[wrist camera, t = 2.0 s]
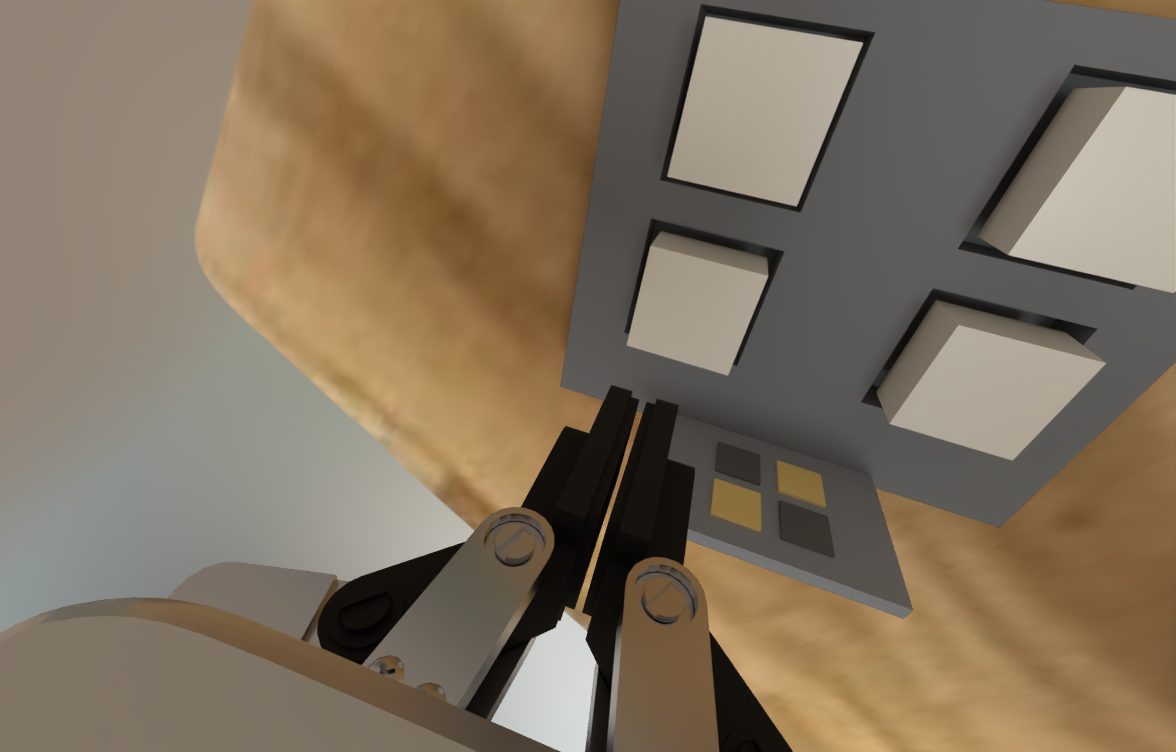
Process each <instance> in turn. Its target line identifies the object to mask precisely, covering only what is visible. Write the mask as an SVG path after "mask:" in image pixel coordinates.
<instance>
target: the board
mask: <svg viewBox="0 0 1176 752" xmlns="http://www.w3.org/2000/svg"><path fill="white" fill-rule="evenodd" d="M706 17H712V18H718V19H724V20H730V21H736V22H742V23H748V24H754V25H760V26H766V27H772V28H778V29H784V30H790V31H796V32H802V33H808V34H814V35H820V36H826V37H832V38H838V39H844V40H850V41H856V42H862V43H863V45H862V47H861V50H860V52H859V55H858V57H857V59H856V62H855V64H854V67H853V69H852V72H851V74H850V77H849V79H848V82H847V84H846V86H845V89H844V91H843V94H842V96H841V99H840V101H839V104H838V106H837V109H836V111H835V114H834V116H833V118H832V121H831V123H830V126H829V128H828V131H827V133H826V136H825V138H824V141H823V143H822V146H821V148H820V150H819V153H818V155H817V158H816V160H815V163H814V165H813V168H812V170H811V173H810V175H809V178H808V180H807V182H806V185H805V187H804V190H803V192H802V195H801V197H800V200H799V202H798V205H797V206H792V205H788V204H784V203H779V202H775V201H771V200H766V199H762V198H758V197H753V196H749V195H745V194H740V193H736V192H732V191H727V190H723V189H718V188H714V187H710V186H705V185H701V184H697V183H692V182H688V181H684V180H679V179H675V178H671V177H667V176H668V171H669V167H670V163H671V159H672V155H673V151H674V147H675V142H676V138H677V134H678V130H679V126H680V122H681V118H682V113H683V109H684V105H685V101H686V97H687V93H688V89H689V84H690V80H691V76H692V72H693V68H694V64H695V60H696V55H697V51H698V47H699V43H700V39H701V35H702V31H703V26H704V22H705V18H706ZM1099 87H1131V88H1137V89H1143V90H1149V91H1155V92H1161V93H1167V94H1173V95H1176V19H1170V18H1163V17H1156V16H1149V15H1142V14H1135V13H1128V12H1121V11H1114V10H1108V9H1101V8H1094V7H1087V6H1080V5H1073V4H1066V3H1059V2H1052V1H1045V0H620V3H619V9H618V16H617V22H616V29H615V35H614V42H613V48H612V55H611V61H610V68H609V74H608V81H607V87H606V94H605V100H604V107H603V113H602V120H601V126H600V132H599V139H598V145H597V152H596V158H595V165H594V171H593V178H592V184H591V191H590V197H589V204H588V210H587V217H586V223H585V230H584V236H583V243H582V249H581V256H580V262H579V269H578V275H577V281H576V288H575V294H574V301H573V307H572V314H571V320H570V327H569V333H568V340H567V346H566V353H565V359H564V366H563V372H562V379H561V385H560V386H561V387H564V388H567V389H570V390H574V391H577V392H580V393H583V394H586V395H589V396H592V397H595V398H598V399H601V400H605V397H606V395H607V393H608V391H609V389H610V387H611V385H614V386H617V387H621V388H624V389H627V390H631V391H633V394H632V397H633V398H637V399H640V400H639V404H638V407H637V411H639V412H642V413H643V411H644V408H645V405H646V402H650V403H653V404H655V403H656V399H660V400H664V401H667V402H670V403H674V404H677V405H679V407H678V412H677V414H678V415H682V416H685V417H688V418H691V419H694V420H697V421H700V422H704V423H707V424H710V425H713V426H716V427H719V428H722V429H726V430H729V431H732V432H735V433H738V434H741V435H744V436H748V437H751V438H754V439H757V440H760V441H763V442H766V443H769V444H773V445H776V446H779V447H782V448H785V449H788V450H791V451H795V452H798V453H801V454H804V455H807V456H810V457H813V458H817V459H820V460H823V461H826V462H829V463H832V464H835V465H839V466H842V467H845V468H848V469H851V470H854V471H857V472H861V473H864V474H867V475H870V476H872V479H873V482H874V485H875V488H878V489H881V490H884V491H887V492H890V493H893V494H896V495H899V496H903V497H906V498H909V499H912V500H915V501H918V502H921V503H924V504H927V505H931V506H934V507H937V508H940V509H943V510H946V511H949V512H952V513H955V514H958V515H962V516H965V517H968V518H971V519H974V520H977V521H980V522H983V523H986V524H990V525H993V526H996V527H999V528H1000V527H1001V526H1002V525H1003V524H1004V523H1005V522H1006V521H1007V520H1008V519H1009V518H1010V517H1011V516H1012V515H1014V514H1015V513H1016V512H1017V511H1018V510H1019V509H1020V508H1021V507H1022V506H1023V505H1024V504H1025V503H1026V502H1027V501H1028V500H1030V499H1031V498H1032V497H1033V496H1034V495H1035V494H1036V493H1037V492H1038V491H1039V490H1040V489H1041V488H1042V487H1043V486H1044V485H1046V484H1047V483H1048V482H1049V481H1050V480H1051V479H1052V478H1053V477H1054V476H1055V475H1056V474H1057V473H1058V472H1059V471H1060V470H1061V469H1063V468H1064V467H1065V466H1066V465H1067V464H1068V463H1069V462H1070V461H1071V460H1072V459H1073V458H1074V457H1075V456H1076V455H1077V454H1079V453H1080V452H1081V451H1082V450H1083V449H1084V448H1085V447H1086V446H1087V445H1088V444H1089V443H1090V442H1091V441H1092V440H1093V439H1094V438H1096V437H1097V436H1098V435H1099V434H1100V433H1101V432H1102V431H1103V430H1104V429H1105V428H1106V427H1107V426H1108V425H1109V424H1110V423H1112V422H1113V421H1114V420H1115V419H1116V418H1117V417H1118V416H1119V415H1120V414H1121V413H1122V412H1123V411H1124V410H1125V409H1126V408H1128V407H1129V406H1130V405H1131V404H1132V403H1133V402H1134V401H1135V400H1136V399H1137V398H1138V397H1139V396H1140V395H1141V394H1142V393H1143V392H1145V391H1146V390H1147V389H1148V388H1149V387H1150V386H1151V385H1152V384H1153V383H1154V382H1155V381H1156V380H1157V379H1158V378H1159V377H1161V376H1162V375H1163V374H1164V373H1165V372H1166V371H1167V370H1168V369H1169V368H1170V367H1171V366H1172V365H1173V364H1174V363H1175V362H1176V291H1175V293H1171V292H1166V291H1162V290H1158V289H1153V288H1149V287H1145V286H1140V285H1136V284H1132V283H1127V282H1123V281H1118V280H1114V279H1110V278H1105V277H1101V276H1097V275H1092V274H1088V273H1084V272H1079V271H1075V270H1071V269H1066V268H1062V267H1058V266H1053V265H1049V264H1045V263H1040V262H1036V261H1032V260H1027V259H1023V258H1018V257H1014V256H1010V255H1007V254H1005V253H1004V252H1002V251H1000V250H999V249H997V248H996V247H994V246H992V245H991V244H989V243H988V242H986V241H984V240H983V239H981V238H979V237H978V234H979V232H980V231H981V229H982V228H983V226H984V225H985V223H986V222H987V220H988V219H989V217H990V215H991V214H992V212H993V211H994V209H995V208H996V206H997V205H998V203H999V202H1000V200H1001V198H1002V197H1003V195H1004V194H1005V192H1006V191H1007V189H1008V188H1009V186H1010V185H1011V183H1012V181H1013V180H1014V178H1015V177H1016V175H1017V174H1018V172H1019V171H1020V169H1021V168H1022V166H1023V165H1024V163H1025V161H1026V160H1027V158H1028V157H1029V155H1030V154H1031V152H1032V151H1033V149H1034V148H1035V146H1036V144H1037V143H1038V141H1039V140H1040V138H1041V137H1042V135H1043V134H1044V132H1045V131H1046V129H1047V127H1048V126H1049V124H1050V123H1051V121H1052V120H1053V118H1054V117H1055V115H1056V114H1057V112H1058V110H1059V109H1060V107H1061V106H1062V104H1063V103H1064V101H1065V100H1066V98H1067V97H1068V95H1069V93H1070V92H1071V90H1072V89H1073V88H1099ZM661 231H664V232H668V233H672V234H676V235H680V236H684V237H688V238H692V239H696V240H700V241H704V242H708V243H712V244H716V245H720V246H724V247H728V248H732V249H736V250H740V251H743V252H747V253H751V254H755V255H759V256H763V257H767V264H768V278H767V281H766V283H765V286H764V288H763V291H762V293H761V296H760V298H759V301H758V303H757V305H756V308H755V310H754V313H753V315H752V318H751V320H750V323H749V325H748V328H747V330H746V332H745V335H744V337H743V340H742V342H741V345H740V347H739V350H738V352H737V355H736V357H735V360H734V362H733V364H732V367H731V369H730V372H729V374H728V376H727V375H724V374H721V373H717V372H714V371H711V370H707V369H704V368H701V367H697V366H694V365H690V364H687V363H684V362H680V361H677V360H674V359H670V358H667V357H664V356H660V355H657V354H654V353H650V352H647V351H644V350H640V349H637V348H633V347H630V346H627V341H628V337H629V333H630V329H631V325H632V321H633V316H634V312H635V308H636V304H637V300H638V296H639V292H640V287H641V283H642V279H643V275H644V271H645V267H646V263H647V258H648V254H649V250H650V246H651V244H652V243H653V242H654V240H655V239H656V237H657V236H658V234H659V233H660V232H661ZM935 300H939V301H943V302H947V303H951V304H955V305H959V306H963V307H967V308H971V309H975V310H979V311H983V312H987V313H990V314H994V315H998V316H1002V317H1006V318H1010V319H1014V320H1018V321H1022V322H1026V323H1030V324H1034V325H1038V326H1042V327H1046V328H1050V329H1054V330H1058V331H1062V332H1066V333H1067V334H1068V335H1070V336H1071V337H1072V338H1074V339H1075V340H1076V341H1078V342H1079V343H1080V344H1082V345H1083V346H1084V347H1086V348H1087V349H1088V350H1090V351H1091V352H1092V353H1094V354H1095V355H1096V356H1098V357H1099V358H1100V359H1102V360H1103V361H1104V362H1106V364H1105V365H1104V366H1103V367H1102V368H1101V369H1100V370H1099V371H1098V372H1097V373H1096V375H1095V376H1094V377H1093V378H1092V379H1091V380H1090V381H1089V382H1088V383H1087V384H1086V385H1085V386H1084V387H1083V388H1082V389H1081V390H1080V391H1079V392H1078V393H1077V394H1076V395H1075V396H1074V397H1073V398H1072V399H1071V400H1070V402H1069V403H1068V404H1067V405H1066V406H1065V407H1064V408H1063V409H1062V410H1061V411H1060V412H1059V413H1058V414H1057V415H1056V416H1055V417H1054V418H1053V419H1052V420H1051V421H1050V422H1049V423H1048V424H1047V425H1046V426H1045V427H1044V429H1043V430H1042V431H1041V432H1040V433H1039V434H1038V435H1037V436H1036V437H1035V438H1034V439H1033V440H1032V441H1031V442H1030V443H1029V444H1028V445H1027V446H1026V447H1025V448H1024V449H1023V450H1022V451H1021V452H1020V453H1019V454H1018V456H1017V457H1016V458H1015V459H1014V460H1013V461H1012V460H1009V459H1006V458H1002V457H999V456H996V455H992V454H989V453H985V452H982V451H979V450H975V449H972V448H969V447H965V446H962V445H959V444H955V443H952V442H949V441H945V440H942V439H939V438H935V437H932V436H928V435H925V434H922V433H918V432H915V431H912V430H908V429H905V428H902V427H898V426H895V425H892V424H889V422H888V420H887V417H886V415H885V412H884V410H883V408H882V405H881V403H880V400H879V398H878V395H877V393H876V391H877V390H878V388H879V387H880V385H881V384H882V382H883V381H884V379H885V378H886V376H887V374H888V373H889V371H890V370H891V368H892V367H893V365H894V364H895V362H896V361H897V359H898V357H899V356H900V354H901V353H902V351H903V350H904V348H905V347H906V345H907V344H908V342H909V341H910V339H911V337H912V336H913V334H914V333H915V331H916V330H917V328H918V327H919V325H920V324H921V322H922V320H923V319H924V317H925V316H926V314H927V313H928V311H929V310H930V308H931V307H932V305H933V303H934V302H935Z"/></svg>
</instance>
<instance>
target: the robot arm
mask: <svg viewBox="0 0 1176 752" xmlns="http://www.w3.org/2000/svg"><path fill="white" fill-rule="evenodd" d="M632 394H633V391H631V390H627V389H624V388H621V387H617V386H614V385H611V387H610V389H609V391H608V393H607V395H606V397H605V400H604V402H603V404H602V406H601V408H600V411H599V413H598V415H597V417H596V419H595V422H594V424H593V426H592V428H591V430H590V433H586V432H583V431H580V430H577V429H573V428H570V427H567V426H566V427H564V429H563V430H562V432H561V434H560V436H559V437H558V439H557V441H556V443H555V445H554V447H553V449H552V450H551V452H550V454H549V456H548V458H547V460H546V462H545V463H544V465H543V467H542V469H541V471H540V473H539V475H538V476H537V478H536V480H535V482H534V484H533V486H532V488H531V489H530V491H529V493H528V495H527V497H526V499H525V501H524V502H523V504H522V506H521V508H520V507H510V508H505V509H501V510H499V511H497V512H494V513H492V514H491V515H490V516H488V517H487V518H486V519H485V520H484V521H483V522H482V523H481V524H480V525H479V527H478V528H477V529H476V530H475V531H474V532H473V534H472V535H471V536H470V537H469V538H468V540H467V541H466V542H463V543H460V544H457V545H454V546H451V547H448V548H445V549H442V550H439V551H436V552H433V553H430V554H427V555H424V556H421V557H418V558H415V559H412V560H409V561H406V562H403V563H400V564H397V565H394V566H391V567H388V568H385V569H382V570H379V571H376V572H373V573H370V574H367V575H364V576H361V577H359V578H357V579H354V580H352V581H350V582H348V581H341V580H337V576H336V575H332V574H325V573H317V572H310V571H301V570H294V569H287V568H279V567H271V566H263V565H256V564H248V563H240V562H227V563H226V562H225V563H219V564H216V565H213V566H210V567H206V568H204V569H202V570H200V571H198V572H197V573H195V574H193V575H191V576H190V577H188V578H187V579H186V580H185V581H184V582H183V583H182V584H181V585H179V586H178V587H177V588H176V589H175V590H174V591H173V593H172V594H171V595H170V596H169V597H168V598H167V599H165V598H140V597H139V598H138V597H133V598H118V599H104V600H99V601H92V602H86V603H80V604H74V605H70V606H65V607H61V608H58V609H55V610H51V611H48V612H45V613H42V614H39V615H37V616H34V617H32V618H30V619H27V620H25V621H23V622H20V623H18V624H16V625H14V626H12V627H10V628H8V629H7V630H5V631H3V632H1V633H0V752H560V751H558V750H555V749H553V748H551V747H548V746H546V745H544V744H542V743H539V742H537V741H534V740H532V739H530V738H528V737H526V736H523V735H521V734H519V733H516V732H514V731H512V730H510V729H507V728H505V727H503V726H500V725H498V724H496V723H493V722H491V720H492V718H493V716H494V714H495V712H496V711H497V709H498V707H499V705H500V704H501V702H502V700H503V698H504V696H505V694H506V693H507V691H508V689H509V687H510V686H511V684H512V682H513V680H514V678H515V677H516V675H517V673H518V671H519V669H520V668H521V666H522V664H523V662H524V660H525V658H526V657H527V655H528V653H529V651H530V649H531V648H532V646H533V644H534V641H535V639H536V636H539V635H541V634H543V633H545V632H547V631H549V630H551V629H553V628H555V627H556V624H557V622H558V620H559V621H560V620H561V617H562V614H563V612H564V609H565V606H566V607H569V608H572V609H575V607H576V604H577V601H578V598H579V594H580V591H581V588H582V585H583V582H584V579H585V576H586V573H587V570H588V567H589V564H590V561H591V558H592V555H593V552H594V549H595V546H596V543H597V540H598V537H599V534H600V531H601V528H602V524H603V521H604V518H605V515H606V512H607V509H608V506H609V503H610V500H611V497H612V494H613V491H614V488H615V485H616V481H617V478H618V475H619V471H620V468H621V464H622V461H623V457H624V453H625V450H626V446H627V443H628V439H629V436H630V432H631V429H632V425H633V422H634V418H635V415H636V411H637V407H638V404H639V400H640V399H637V398H633V397H632ZM678 407H679V405H677V404H674V403H670V402H667V401H664V400H660V399H656V403H655V404H653V403H650V402H646V405H645V408H644V411H643V414H642V417H641V421H640V424H639V427H638V430H637V433H636V436H635V440H634V443H633V446H632V449H631V452H630V455H629V459H628V462H627V465H626V468H625V471H624V474H623V477H622V481H621V484H620V487H619V490H618V493H617V496H616V500H615V503H614V506H613V509H612V512H611V515H610V519H609V522H608V525H607V529H606V532H605V535H604V539H603V542H602V546H601V549H600V553H599V556H598V559H597V563H596V566H595V570H594V573H593V577H592V580H591V584H590V587H589V591H588V594H587V598H586V601H585V604H584V608H583V611H582V613H585V614H587V615H590V616H592V617H591V621H590V624H589V627H588V631H587V632H588V633H587V636H586V641H587V643H588V646H589V648H590V650H591V652H592V654H593V656H594V658H595V660H596V666H595V671H594V680H593V688H592V697H591V707H590V714H589V723H588V732H587V741H586V749H585V752H793V751H792V749H791V748H790V747H789V745H788V744H787V742H786V741H785V739H784V738H783V736H782V735H781V734H780V732H779V731H778V729H777V728H776V726H775V725H774V723H773V722H772V721H771V719H770V718H769V716H768V715H767V713H766V712H765V710H764V709H763V708H762V706H761V705H760V703H759V702H758V700H757V699H756V697H755V696H754V694H753V693H752V692H751V690H750V689H749V687H748V686H747V684H746V683H745V681H744V680H743V679H742V677H741V676H740V674H739V673H738V671H737V670H736V668H735V667H734V666H733V664H732V663H731V661H730V660H729V658H728V657H727V655H726V654H725V653H724V651H723V650H722V648H721V647H720V645H719V644H718V642H717V641H716V640H715V638H714V637H713V635H712V634H711V632H710V631H709V623H708V611H707V602H706V598H705V593H704V590H703V588H702V587H701V585H700V583H699V581H698V579H697V578H696V577H695V576H694V575H693V574H692V573H691V572H690V571H689V569H687V568H686V567H684V566H683V564H684V556H685V549H686V541H687V533H688V525H689V518H690V510H691V502H692V494H693V487H694V479H695V467H692V466H689V465H685V464H682V463H679V462H676V461H673V460H670V459H668V455H669V450H670V445H671V440H672V436H673V431H674V426H675V421H676V416H677V412H678Z"/></svg>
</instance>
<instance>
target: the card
mask: <svg viewBox="0 0 1176 752" xmlns="http://www.w3.org/2000/svg"><path fill="white" fill-rule="evenodd" d="M668 459H670V460H673V461H676V462H679V463H682V464H685V465H689V466H692V467H695V479H694V487H693V494H692V502H691V510H690V518H689V525H688V533H687V540H689V541H692V542H694V543H697V544H700V545H703V546H705V547H708V548H711V549H714V550H716V551H719V552H722V553H725V554H727V555H730V556H733V557H736V558H738V559H741V560H744V561H747V562H749V563H752V564H755V565H758V566H760V567H763V568H766V569H769V570H771V571H774V572H777V573H780V574H782V575H785V576H788V577H791V578H793V579H796V580H799V581H801V582H804V583H807V584H810V585H812V586H815V587H818V588H821V589H823V590H826V591H829V592H832V593H834V594H837V595H840V596H843V597H845V598H848V599H851V600H854V601H856V602H859V603H862V604H865V605H867V606H870V607H873V608H876V609H878V610H881V611H884V612H887V613H889V614H892V615H895V616H898V617H900V618H903V619H904V618H905V617H906V616H907V615H908V614H909V613H911V612H912V611H913V608H912V605H911V602H910V599H909V595H908V592H907V589H906V586H905V582H904V579H903V576H902V573H901V569H900V566H899V563H898V560H897V556H896V553H895V550H894V547H893V544H892V540H891V537H890V534H889V531H888V527H887V524H886V521H885V518H884V514H883V511H882V508H881V505H880V502H879V498H878V495H877V492H876V489H875V485H874V482H873V479H872V476H870V475H867V474H864V473H861V472H857V471H854V470H851V469H848V468H845V467H842V466H839V465H835V464H832V463H829V462H826V461H823V460H820V459H817V458H813V457H810V456H807V455H804V454H801V453H798V452H795V451H791V450H788V449H785V448H782V447H779V446H776V445H773V444H769V443H766V442H763V441H760V440H757V439H754V438H751V437H748V436H744V435H741V434H738V433H735V432H732V431H729V430H726V429H722V428H719V427H716V426H713V425H710V424H707V423H704V422H700V421H697V420H694V419H691V418H688V417H685V416H682V415H678V414H677V416H676V421H675V426H674V431H673V436H672V440H671V445H670V450H669V455H668Z"/></svg>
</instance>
